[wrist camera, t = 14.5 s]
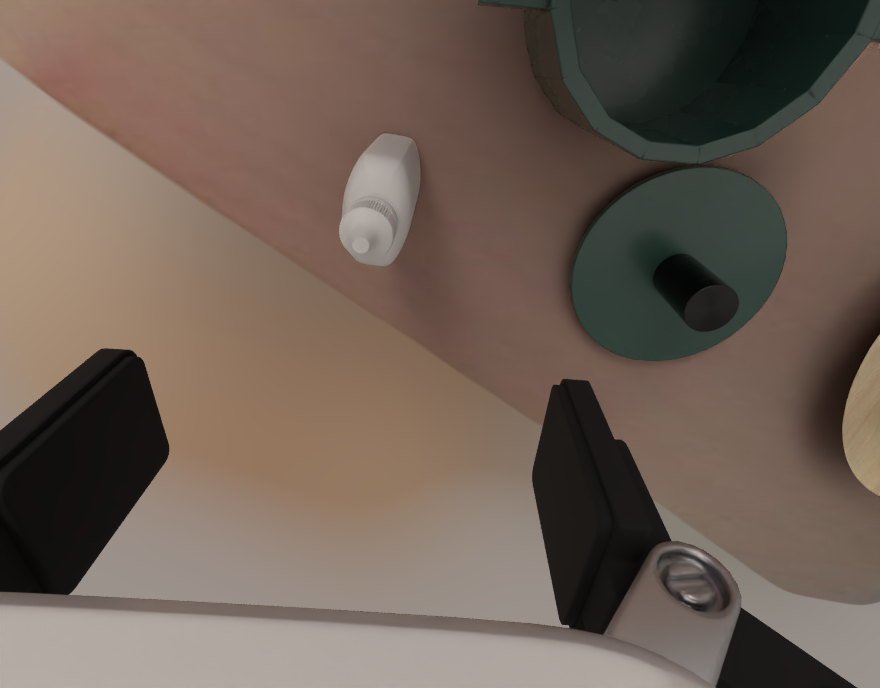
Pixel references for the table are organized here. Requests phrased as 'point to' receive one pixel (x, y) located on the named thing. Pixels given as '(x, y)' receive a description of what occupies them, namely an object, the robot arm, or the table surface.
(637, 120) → the pot
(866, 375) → the boxes on wooden plate
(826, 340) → the table surface
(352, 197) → the eye dropper bottle
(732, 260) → the lid
